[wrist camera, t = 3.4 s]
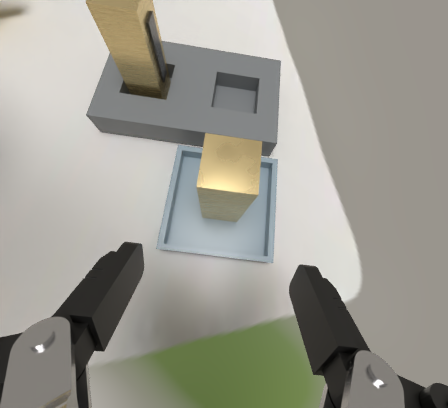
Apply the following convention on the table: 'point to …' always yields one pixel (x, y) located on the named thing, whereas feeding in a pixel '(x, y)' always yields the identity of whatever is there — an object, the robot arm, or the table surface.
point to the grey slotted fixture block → (195, 99)
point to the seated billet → (134, 44)
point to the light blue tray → (211, 228)
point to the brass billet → (228, 176)
